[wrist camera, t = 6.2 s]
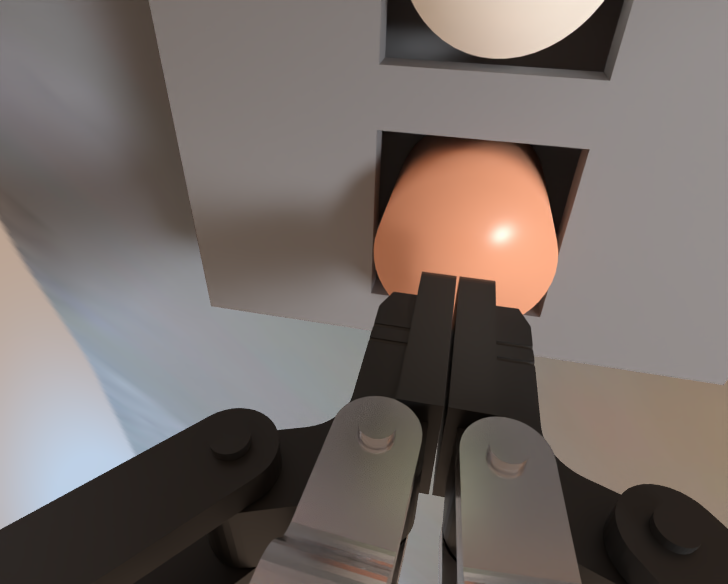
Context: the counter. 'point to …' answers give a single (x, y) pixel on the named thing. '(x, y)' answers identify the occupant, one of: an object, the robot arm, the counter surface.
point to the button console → (463, 120)
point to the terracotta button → (470, 220)
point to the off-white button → (504, 23)
